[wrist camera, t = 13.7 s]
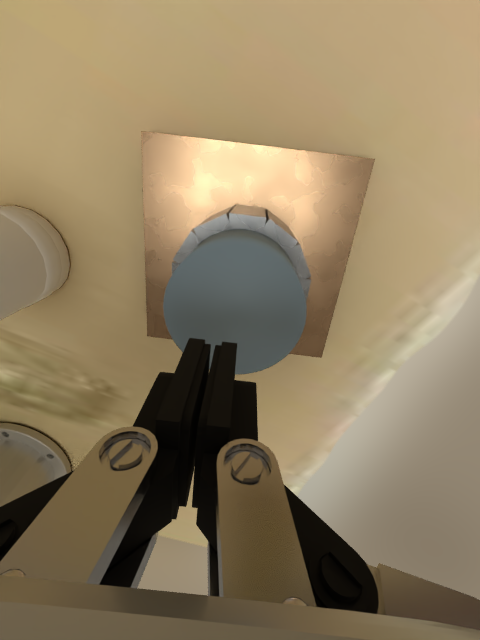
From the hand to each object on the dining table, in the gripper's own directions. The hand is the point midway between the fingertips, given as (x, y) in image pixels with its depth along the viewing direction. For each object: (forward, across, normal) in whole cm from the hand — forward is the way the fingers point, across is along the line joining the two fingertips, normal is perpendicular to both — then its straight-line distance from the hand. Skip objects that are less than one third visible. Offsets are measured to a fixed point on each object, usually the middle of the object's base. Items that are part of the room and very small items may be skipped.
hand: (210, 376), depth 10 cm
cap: (+12, -1, -1) cm, 12 cm away
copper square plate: (+16, -1, -1) cm, 16 cm away
